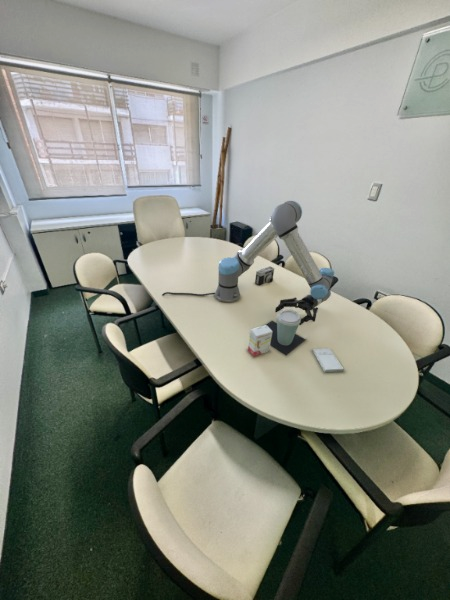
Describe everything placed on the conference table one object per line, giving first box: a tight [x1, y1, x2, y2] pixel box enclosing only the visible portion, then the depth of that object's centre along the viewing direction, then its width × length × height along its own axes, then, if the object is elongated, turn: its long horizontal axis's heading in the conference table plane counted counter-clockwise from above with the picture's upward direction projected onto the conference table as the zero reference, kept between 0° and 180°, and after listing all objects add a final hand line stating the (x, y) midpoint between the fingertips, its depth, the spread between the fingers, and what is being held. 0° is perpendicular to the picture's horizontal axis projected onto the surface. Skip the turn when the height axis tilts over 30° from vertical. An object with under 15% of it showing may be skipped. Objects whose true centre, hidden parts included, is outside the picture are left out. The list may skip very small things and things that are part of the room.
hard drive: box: [312, 347, 345, 373], centre depth 104 cm, size 2×8×12 cm
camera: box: [254, 266, 275, 287], centre depth 164 cm, size 14×8×10 cm, turn 130°
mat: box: [265, 320, 306, 356], centre depth 117 cm, size 20×16×1 cm
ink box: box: [247, 324, 273, 358], centre depth 105 cm, size 9×5×12 cm, turn 116°
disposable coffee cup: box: [276, 309, 302, 345], centre depth 111 cm, size 11×11×15 cm
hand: (287, 316), depth 115 cm, fingers open, 13 cm apart
